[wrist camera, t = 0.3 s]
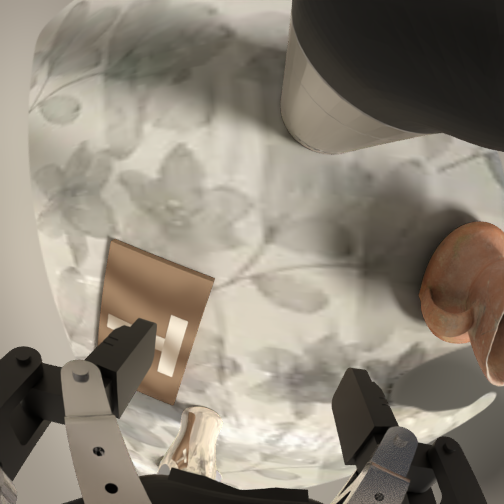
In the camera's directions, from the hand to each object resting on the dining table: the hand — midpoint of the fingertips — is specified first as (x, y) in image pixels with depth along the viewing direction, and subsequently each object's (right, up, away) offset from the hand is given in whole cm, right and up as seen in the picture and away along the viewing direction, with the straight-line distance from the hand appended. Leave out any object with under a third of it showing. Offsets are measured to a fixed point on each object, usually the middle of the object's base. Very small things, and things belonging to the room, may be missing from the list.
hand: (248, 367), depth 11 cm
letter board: (-13, -5, +22) cm, 25 cm away
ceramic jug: (+25, +2, +17) cm, 30 cm away
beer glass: (-7, -19, +25) cm, 33 cm away
